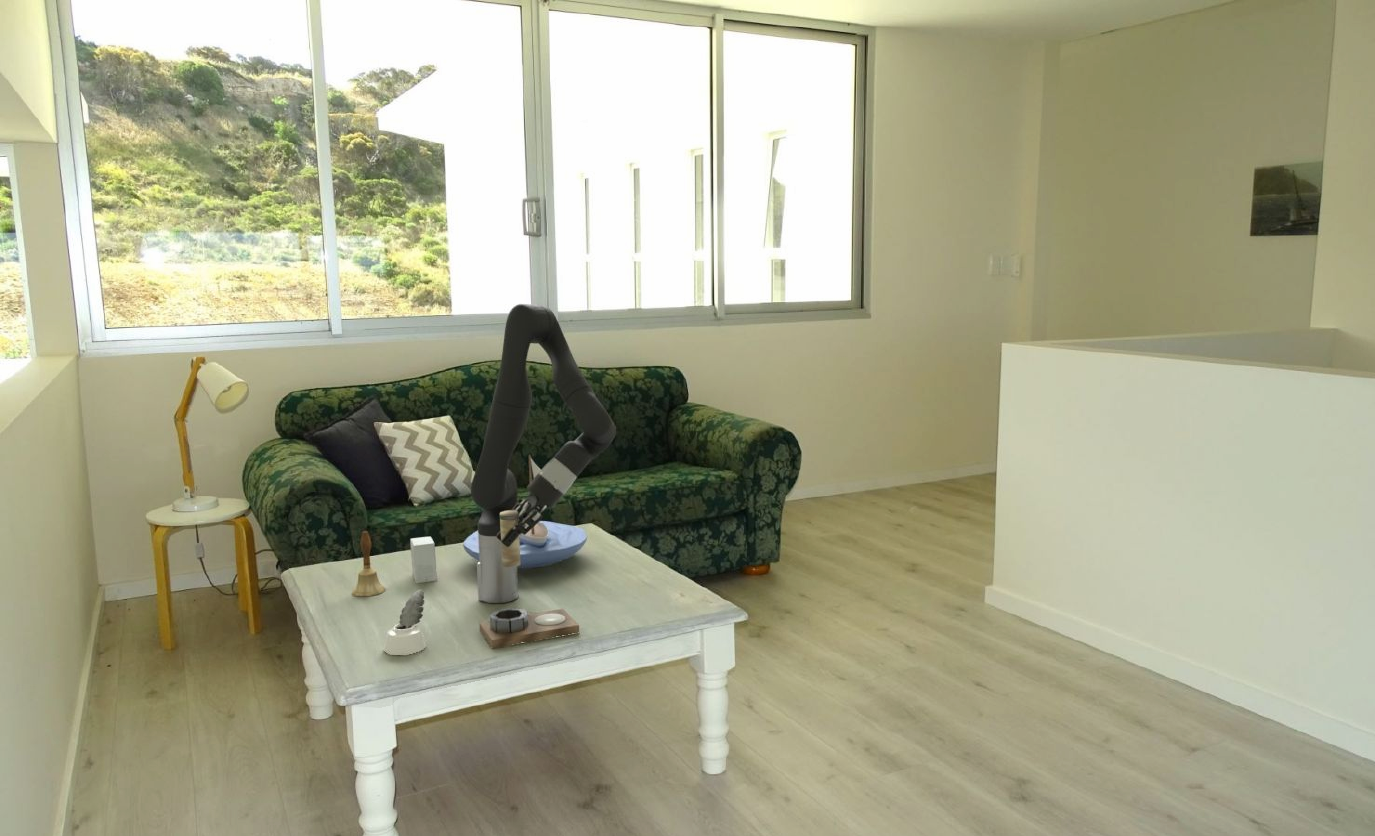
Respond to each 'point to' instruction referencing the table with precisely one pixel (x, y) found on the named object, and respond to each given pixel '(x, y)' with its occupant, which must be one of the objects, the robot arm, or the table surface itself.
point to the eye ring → (509, 620)
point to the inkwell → (407, 629)
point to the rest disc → (549, 619)
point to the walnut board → (530, 630)
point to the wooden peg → (513, 551)
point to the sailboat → (540, 540)
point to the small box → (423, 559)
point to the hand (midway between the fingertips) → (502, 541)
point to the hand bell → (367, 572)
